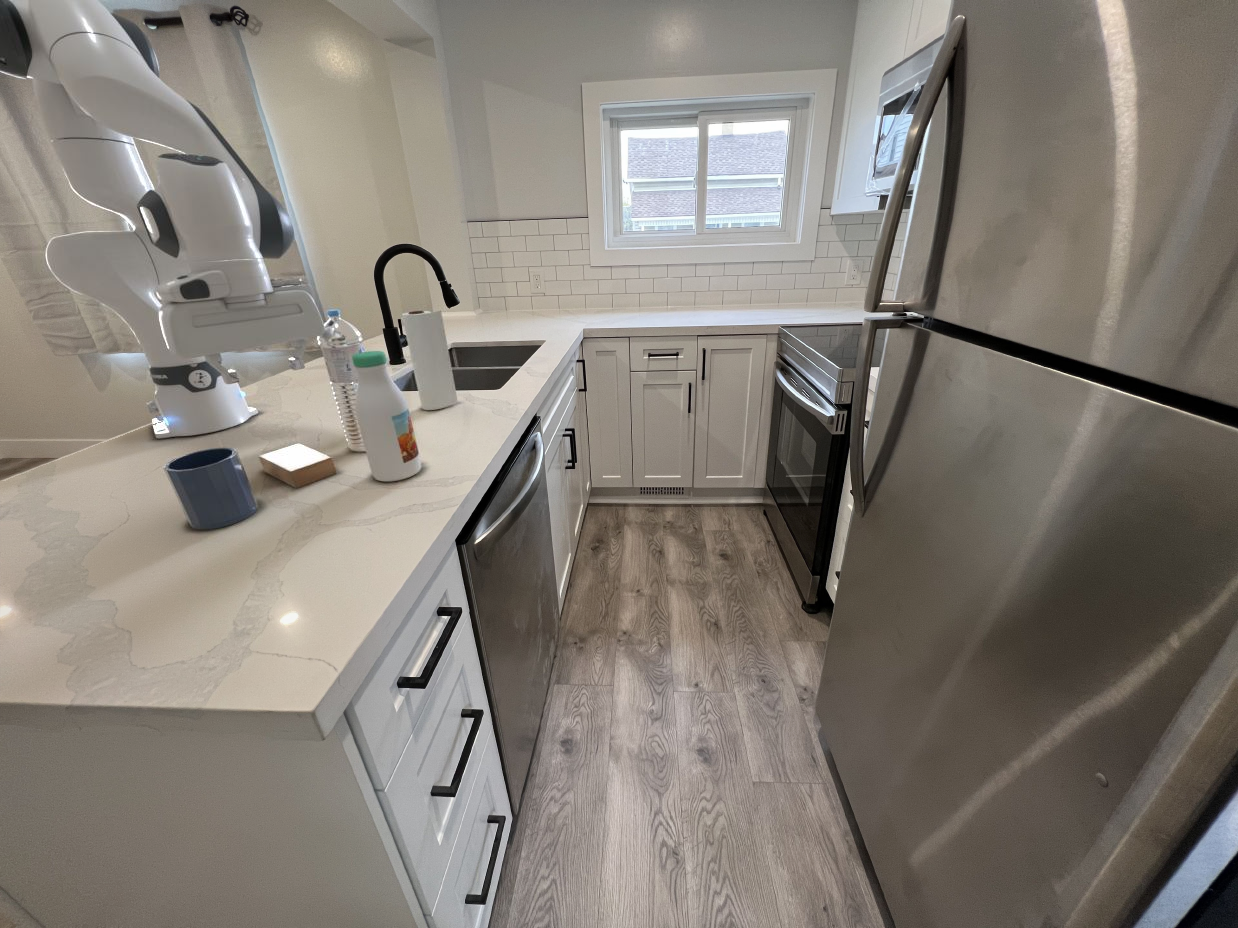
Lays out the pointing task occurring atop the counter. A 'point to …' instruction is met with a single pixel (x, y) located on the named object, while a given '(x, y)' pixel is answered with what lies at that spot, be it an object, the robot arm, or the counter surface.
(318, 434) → the counter surface
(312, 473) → the wooden block
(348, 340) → the water bottle
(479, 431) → the counter surface
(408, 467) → the milk bottle
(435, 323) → the paper towel roll
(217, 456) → the cup
